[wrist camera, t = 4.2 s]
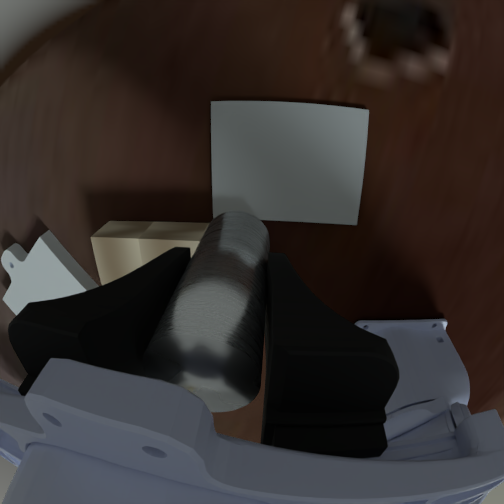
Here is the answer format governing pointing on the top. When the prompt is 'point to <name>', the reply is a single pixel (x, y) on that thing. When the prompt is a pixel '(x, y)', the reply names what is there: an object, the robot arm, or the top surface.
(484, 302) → the top surface
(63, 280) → the mounting plate
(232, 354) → the peg
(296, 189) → the mat
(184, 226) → the hole block
